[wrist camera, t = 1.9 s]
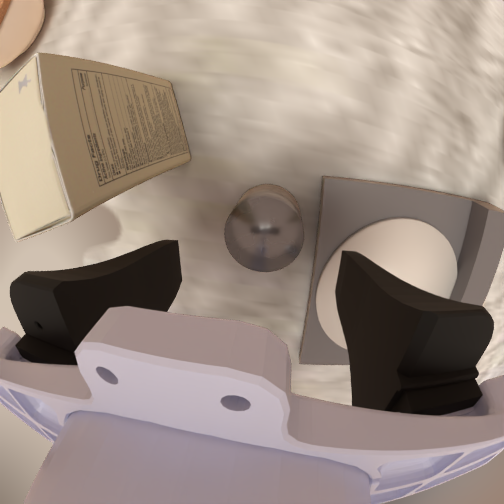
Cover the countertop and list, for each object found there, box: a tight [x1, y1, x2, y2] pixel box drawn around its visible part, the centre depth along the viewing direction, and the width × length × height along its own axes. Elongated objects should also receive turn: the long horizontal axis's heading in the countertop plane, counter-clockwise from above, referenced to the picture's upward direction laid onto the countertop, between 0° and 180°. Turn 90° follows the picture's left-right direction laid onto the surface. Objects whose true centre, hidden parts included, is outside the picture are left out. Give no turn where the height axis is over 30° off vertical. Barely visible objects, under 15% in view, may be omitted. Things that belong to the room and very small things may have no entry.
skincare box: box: [0, 53, 191, 242], centre depth 11 cm, size 6×4×12 cm
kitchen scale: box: [299, 176, 504, 365], centre depth 18 cm, size 16×15×3 cm
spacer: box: [224, 184, 304, 272], centre depth 17 cm, size 4×4×4 cm
